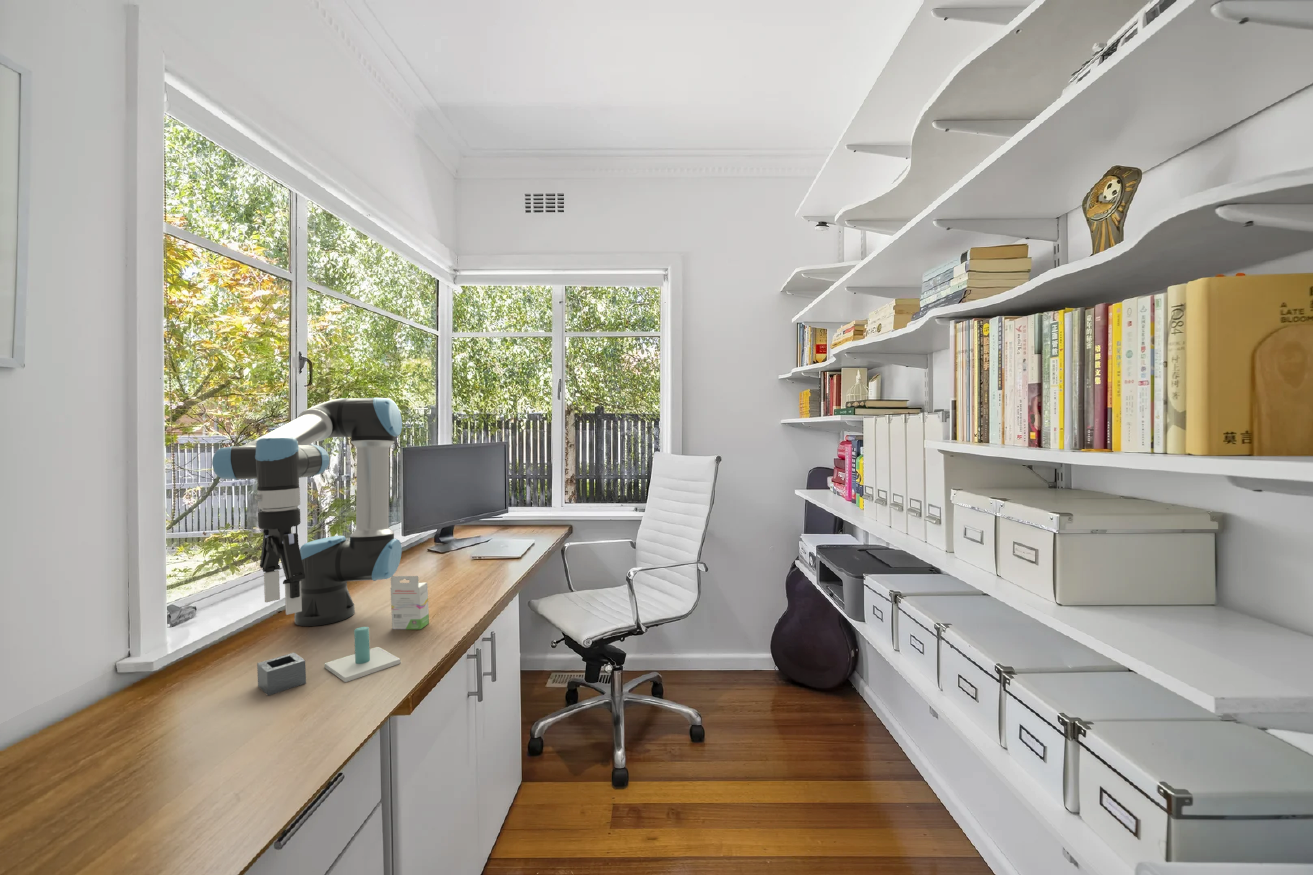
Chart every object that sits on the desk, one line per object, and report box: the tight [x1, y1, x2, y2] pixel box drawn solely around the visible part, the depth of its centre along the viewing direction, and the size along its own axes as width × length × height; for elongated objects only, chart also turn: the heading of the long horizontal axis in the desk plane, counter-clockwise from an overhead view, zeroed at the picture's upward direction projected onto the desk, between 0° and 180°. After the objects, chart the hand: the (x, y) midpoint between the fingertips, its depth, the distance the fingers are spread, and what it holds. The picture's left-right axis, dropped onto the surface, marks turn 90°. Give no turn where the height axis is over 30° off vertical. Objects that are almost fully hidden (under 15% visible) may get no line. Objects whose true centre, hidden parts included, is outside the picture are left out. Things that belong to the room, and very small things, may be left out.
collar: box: [256, 652, 307, 697], centre depth 119 cm, size 7×7×5 cm
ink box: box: [390, 575, 430, 630], centre depth 152 cm, size 9×5×15 cm, turn 84°
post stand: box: [324, 626, 401, 683], centre depth 128 cm, size 12×12×8 cm
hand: (282, 606), depth 119 cm, fingers open, 13 cm apart
